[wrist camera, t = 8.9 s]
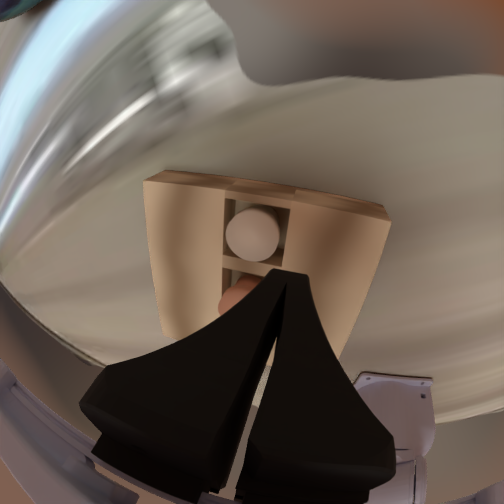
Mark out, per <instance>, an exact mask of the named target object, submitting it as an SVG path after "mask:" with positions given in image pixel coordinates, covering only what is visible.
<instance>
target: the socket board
mask: <svg viewBox="0 0 504 504" xmlns="http://www.w3.org/2000/svg"><path fill="white" fill-rule="evenodd" d="M143 189H144V204H145V216H146V226H147V236H148V245H149V253H150V261H151V268H152V275H153V281H154V288H155V294H156V300H157V305H158V311H159V316H160V321H161V326H162V331H163V335H165V336H168V337H171V338H173V339H176V340H181V339H183V338H185V337H187V336H189V335H191V334H192V333H194V332H196V331H198V330H200V329H201V328H203V327H205V326H206V325H208V324H209V323H211V322H212V321H214V320H215V319H217V318H218V317H220V314H219V312H218V304H219V301H220V300H221V298H222V296H223V294H224V293H225V291H226V290H227V289H228V288H230V287H232V286H235V284H236V282H237V281H238V279H239V278H241V277H242V276H246V275H252V276H256V277H258V278H260V279H261V280H262V279H263V278H264V277H265V276H266V274H267V273H268V272H269V271H270V270H271V269H273V268H276V269H281V270H286V271H292V272H297V273H302V274H307V275H308V276H309V279H310V287H311V292H312V296H313V300H314V303H315V307H316V310H317V313H318V316H319V319H320V321H321V324H322V327H323V329H324V332H325V334H326V336H327V339H328V341H329V343H330V345H331V347H332V349H333V351H334V353H335V355H336V357H337V359H339V357H340V355H341V353H342V350H343V348H344V346H345V344H346V342H347V340H348V338H349V336H350V333H351V331H352V329H353V327H354V324H355V322H356V320H357V317H358V315H359V313H360V310H361V308H362V305H363V303H364V301H365V298H366V296H367V293H368V290H369V288H370V285H371V283H372V280H373V277H374V275H375V272H376V269H377V266H378V263H379V261H380V258H381V255H382V252H383V249H384V246H385V242H386V239H387V236H388V233H389V230H390V226H391V223H392V222H391V220H390V218H389V216H388V214H387V212H386V210H385V209H384V207H383V205H379V204H375V203H371V202H367V201H362V200H358V199H353V198H349V197H344V196H339V195H335V194H330V193H325V192H320V191H314V190H309V189H304V188H298V187H292V186H287V185H281V184H275V183H268V182H262V181H255V180H248V179H241V178H234V177H226V176H218V175H209V174H200V173H191V172H180V171H169V170H165V171H163V172H160V173H158V174H156V175H154V176H152V177H149V178H147V179H145V180H143ZM256 204H264V205H268V206H270V207H271V208H272V209H274V210H275V212H276V213H277V215H278V218H279V226H280V232H281V234H280V240H279V242H278V245H277V247H276V250H275V252H274V253H273V254H272V255H271V256H270V257H269V258H267V259H265V260H262V261H257V262H253V261H247V260H244V259H242V258H240V257H239V256H237V255H236V254H235V253H234V252H233V251H232V250H231V249H230V247H229V245H228V243H227V240H226V229H227V226H228V224H229V222H230V221H231V220H232V219H233V217H234V216H235V215H236V214H237V213H238V212H239V211H241V210H243V209H245V208H250V207H252V206H253V205H256ZM276 339H277V338H276ZM275 345H276V340H275V343H274V346H273V348H272V351H271V353H270V356H269V359H268V361H267V364H266V365H268V366H272V363H273V358H274V352H275Z"/></svg>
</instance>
